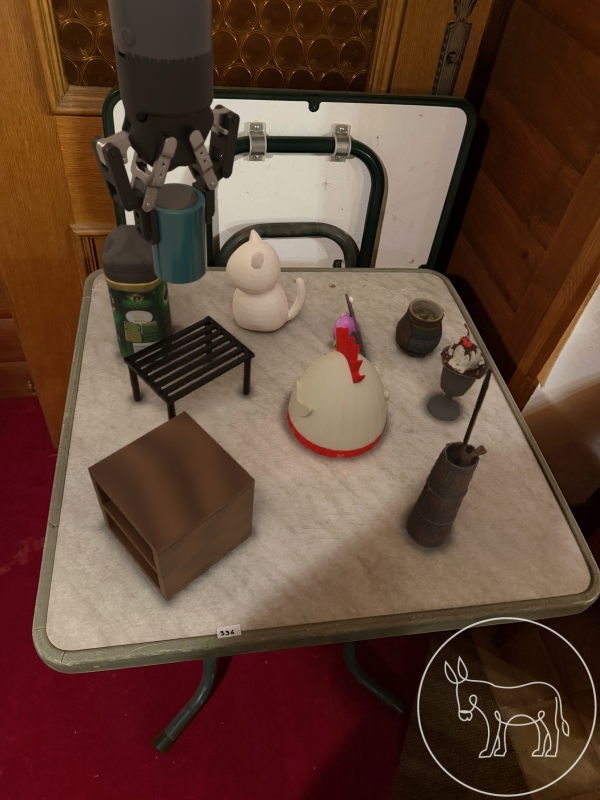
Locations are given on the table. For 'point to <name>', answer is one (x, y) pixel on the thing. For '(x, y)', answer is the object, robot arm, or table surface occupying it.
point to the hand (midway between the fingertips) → (177, 229)
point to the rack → (210, 355)
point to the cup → (180, 234)
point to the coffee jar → (135, 292)
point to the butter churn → (446, 485)
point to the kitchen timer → (339, 402)
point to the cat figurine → (260, 287)
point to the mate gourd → (420, 327)
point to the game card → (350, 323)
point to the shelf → (175, 502)
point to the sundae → (457, 376)
